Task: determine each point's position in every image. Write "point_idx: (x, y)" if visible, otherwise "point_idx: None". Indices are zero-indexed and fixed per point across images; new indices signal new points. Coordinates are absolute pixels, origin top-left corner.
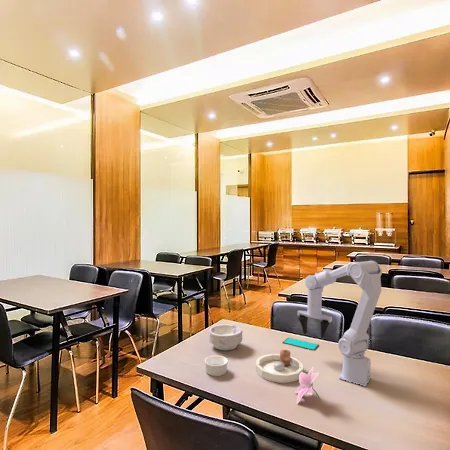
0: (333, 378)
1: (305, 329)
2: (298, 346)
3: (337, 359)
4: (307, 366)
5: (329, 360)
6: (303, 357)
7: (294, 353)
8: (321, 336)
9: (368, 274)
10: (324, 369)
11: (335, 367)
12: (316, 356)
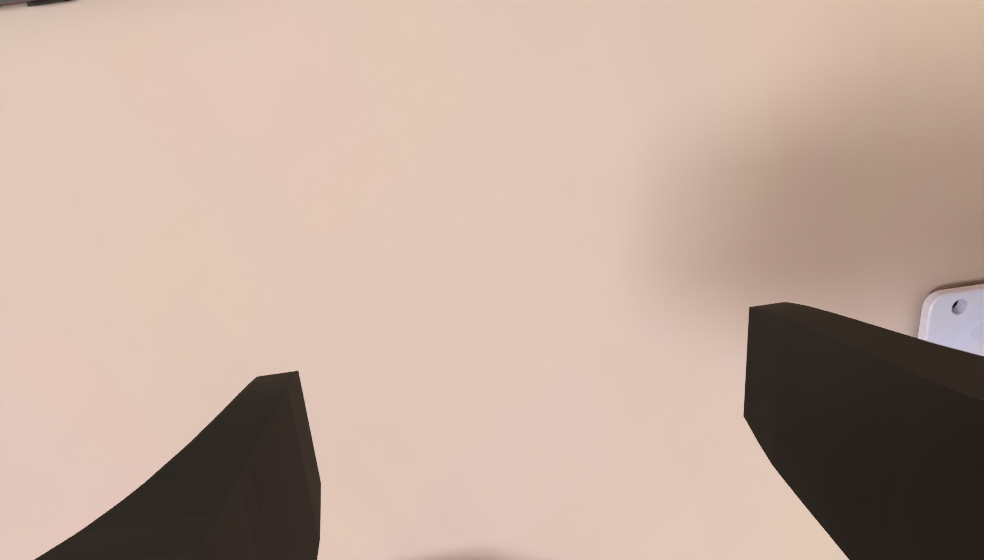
0: None
1: (299, 533)
2: (20, 2)
3: (775, 19)
4: (528, 495)
5: (688, 143)
6: (356, 323)
7: (173, 301)
8: (775, 449)
9: None
10: (714, 420)
11: (809, 283)
12: (483, 153)
